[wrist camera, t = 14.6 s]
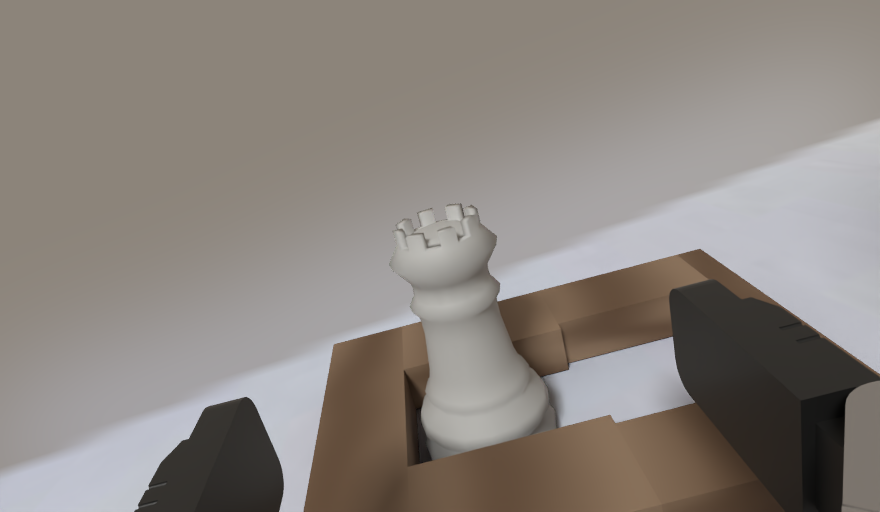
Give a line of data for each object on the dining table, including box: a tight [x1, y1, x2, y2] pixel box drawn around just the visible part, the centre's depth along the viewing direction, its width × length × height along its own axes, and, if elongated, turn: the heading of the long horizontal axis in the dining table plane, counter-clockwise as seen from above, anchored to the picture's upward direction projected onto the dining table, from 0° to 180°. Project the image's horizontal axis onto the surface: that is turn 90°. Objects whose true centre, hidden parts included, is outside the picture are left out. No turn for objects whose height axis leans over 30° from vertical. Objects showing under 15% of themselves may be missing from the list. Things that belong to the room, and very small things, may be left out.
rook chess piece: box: [389, 204, 557, 460], centre depth 18 cm, size 4×4×8 cm
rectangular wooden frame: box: [304, 249, 880, 512], centre depth 19 cm, size 16×12×2 cm
